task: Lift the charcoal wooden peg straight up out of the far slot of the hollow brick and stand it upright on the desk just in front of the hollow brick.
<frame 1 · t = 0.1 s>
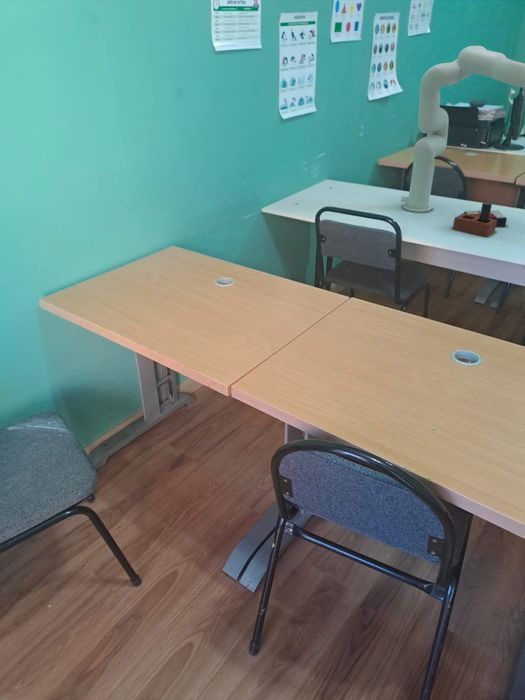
calculator: (483, 222, 225), on the table
peg: (480, 232, 214), resting in hollow brick
hollow brick: (473, 230, 216), on the table
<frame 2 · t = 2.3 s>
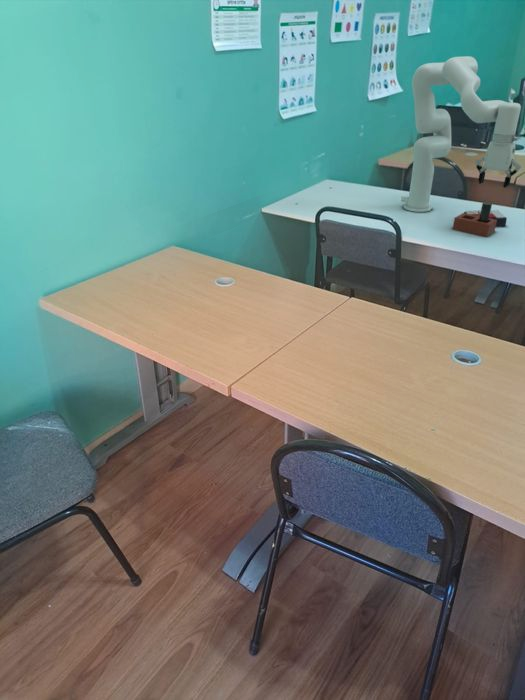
hand: (493, 184, 203), 19 cm above the table, tool pointing down, fingers open, 9 cm apart
nothing on the table moved.
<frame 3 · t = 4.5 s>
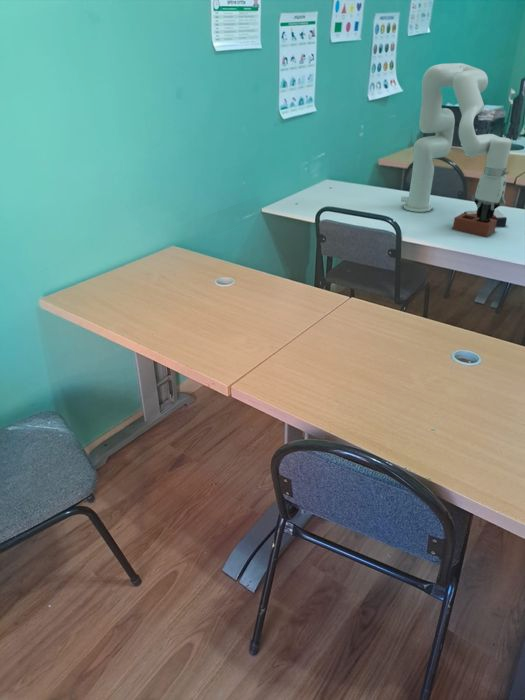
hand: (484, 217, 211), 6 cm above the table, tool pointing down, fingers closed on peg, 3 cm apart
peg: (480, 232, 214), resting in hollow brick, touching gripper
everything else where it was.
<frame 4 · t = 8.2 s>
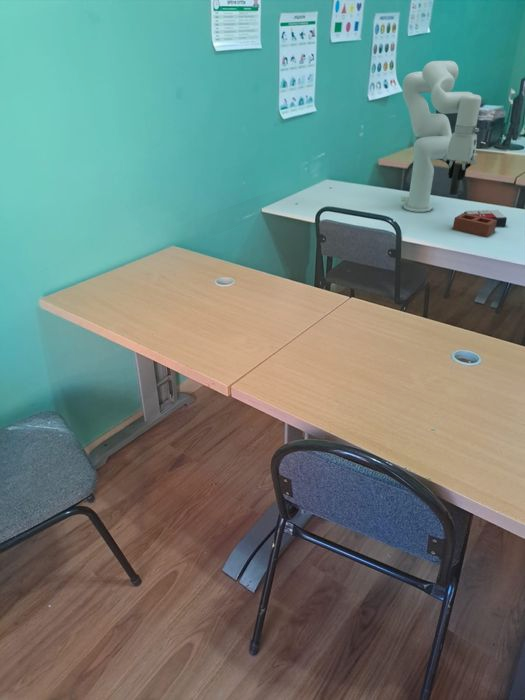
hand: (455, 178, 209), 21 cm above the table, tool pointing down, fingers closed on peg, 3 cm apart
peg: (453, 193, 212), point 14 cm above the table, touching gripper
everything else where it was.
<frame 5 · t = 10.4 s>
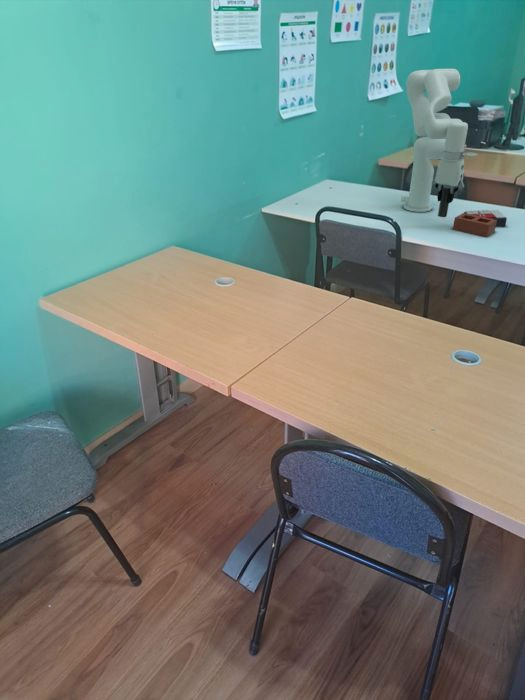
hand: (444, 201, 215), 11 cm above the table, tool pointing down, fingers closed on peg, 3 cm apart
peg: (442, 215, 218), point 5 cm above the table, touching gripper
everything else where it was.
when the fingers open (6 cm above the table, at t = 11.9 s): peg stays where it is, on the table.
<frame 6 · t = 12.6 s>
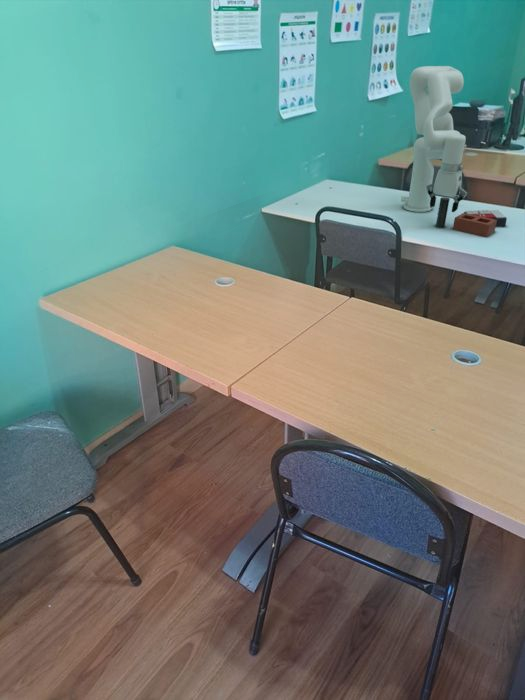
hand: (442, 209, 217), 7 cm above the table, tool pointing down, fingers open, 9 cm apart
peg: (440, 226, 220), on the table
everything else where it was.
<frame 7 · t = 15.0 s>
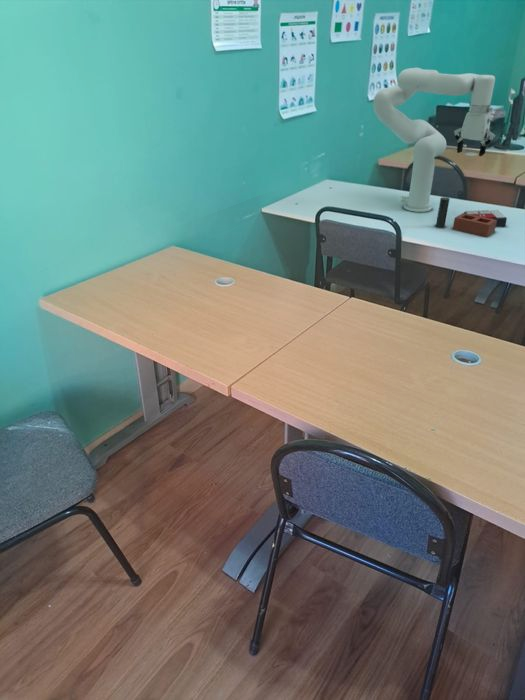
hand: (470, 153, 217), 27 cm above the table, tool pointing down, fingers open, 9 cm apart
nothing on the table moved.
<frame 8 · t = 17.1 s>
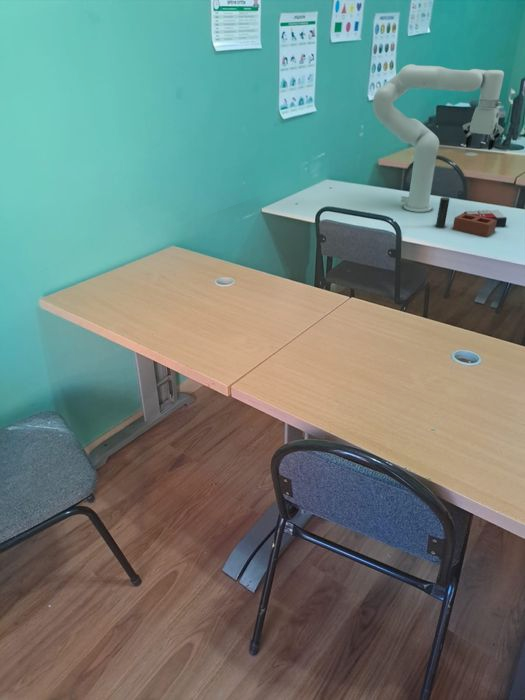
hand: (478, 147, 221), 28 cm above the table, tool pointing down, fingers open, 9 cm apart
nothing on the table moved.
at the end: peg 0.4 cm from the target spot, on the table; peg tilted 0°; the gripper is holding nothing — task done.
